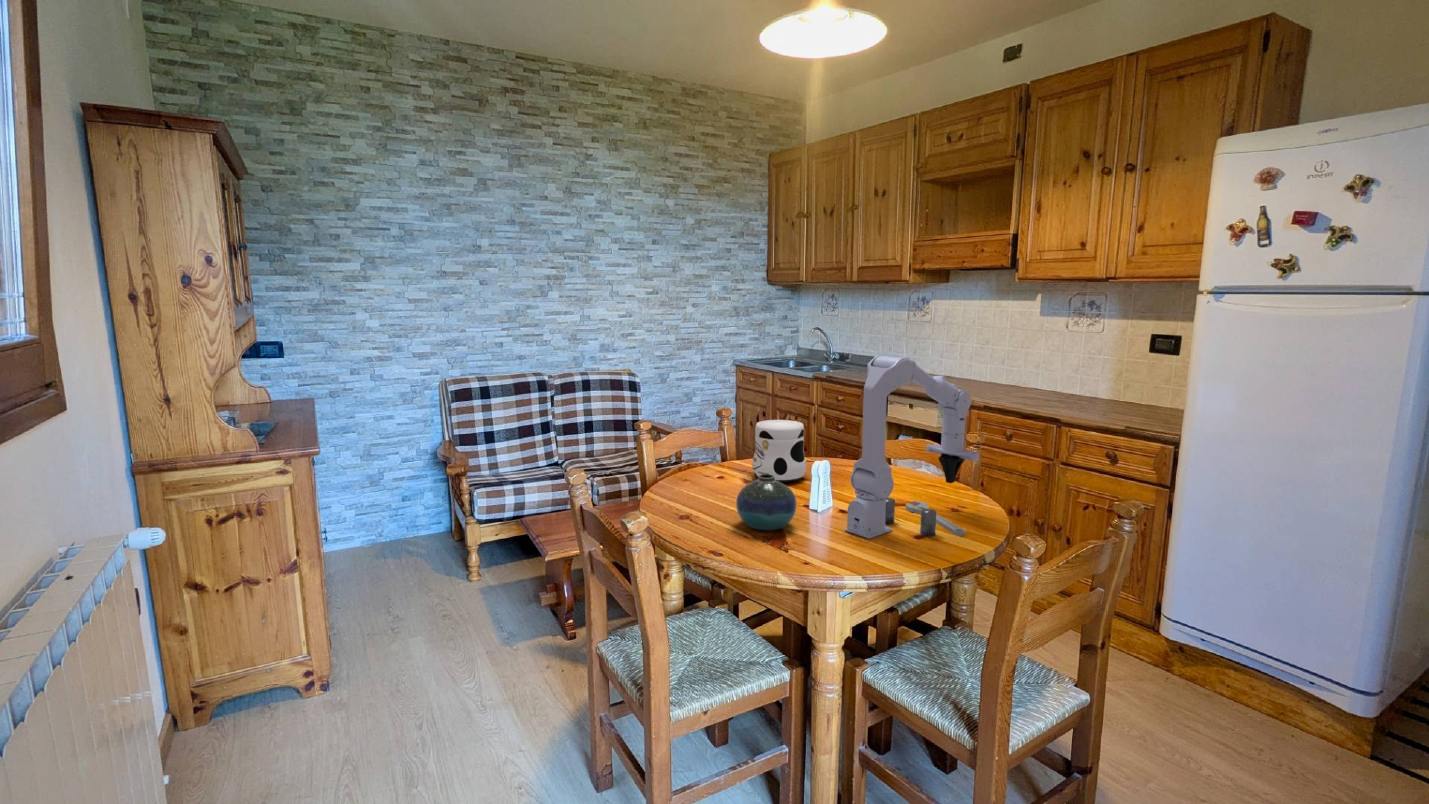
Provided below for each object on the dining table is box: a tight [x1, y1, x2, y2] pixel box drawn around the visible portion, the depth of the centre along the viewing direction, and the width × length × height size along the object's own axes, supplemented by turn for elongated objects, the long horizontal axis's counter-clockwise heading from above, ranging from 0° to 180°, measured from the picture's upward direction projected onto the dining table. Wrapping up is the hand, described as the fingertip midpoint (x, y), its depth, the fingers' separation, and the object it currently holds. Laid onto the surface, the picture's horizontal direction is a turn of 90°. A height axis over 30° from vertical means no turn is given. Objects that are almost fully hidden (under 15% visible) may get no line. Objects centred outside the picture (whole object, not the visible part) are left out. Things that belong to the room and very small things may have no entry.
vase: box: [735, 474, 798, 532], centre depth 170 cm, size 15×15×13 cm
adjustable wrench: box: [905, 500, 966, 537], centre depth 176 cm, size 25×6×2 cm, turn 8°
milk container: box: [751, 419, 807, 483], centre depth 215 cm, size 17×17×18 cm
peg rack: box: [885, 497, 937, 538], centre depth 170 cm, size 4×16×6 cm, turn 40°
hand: (950, 482), depth 181 cm, fingers closed
